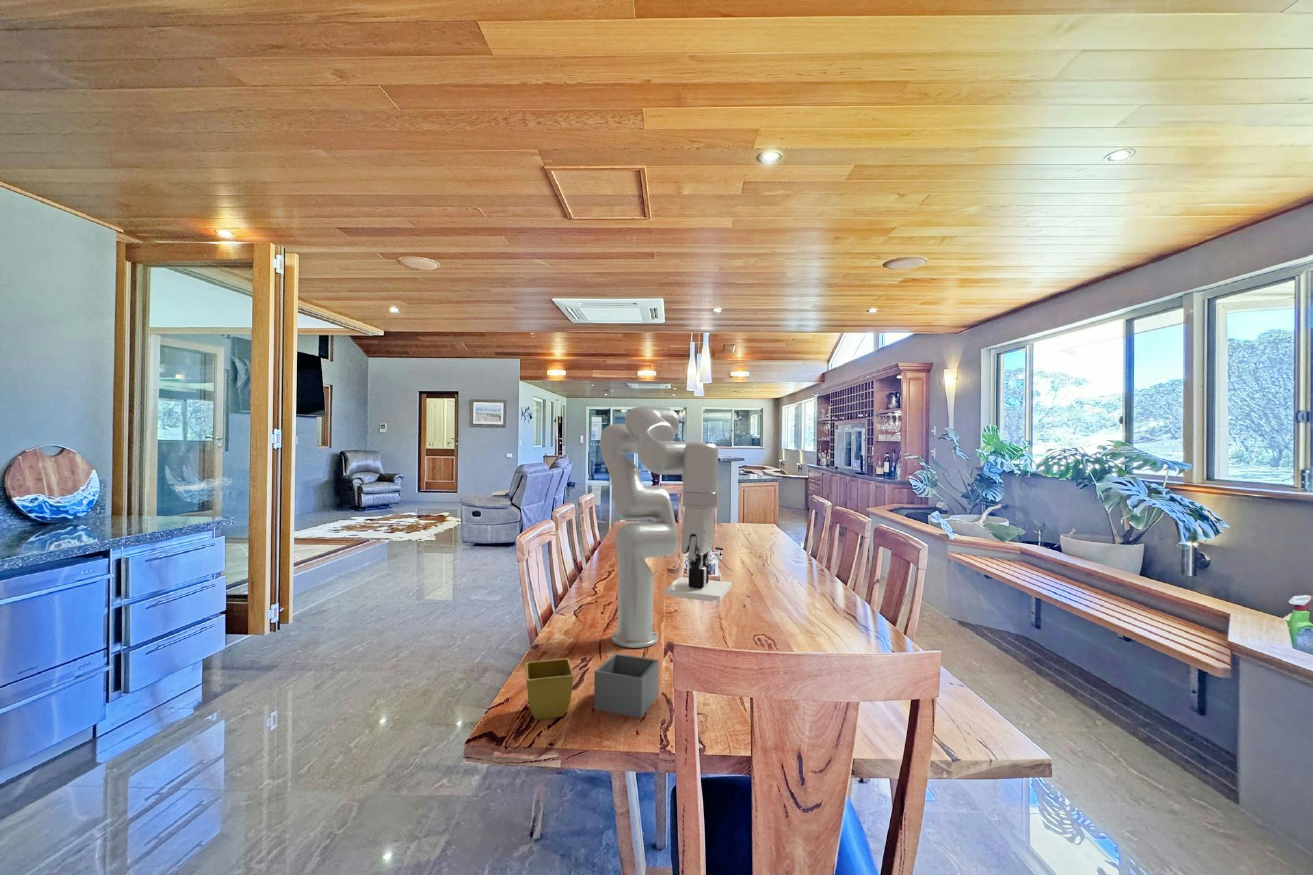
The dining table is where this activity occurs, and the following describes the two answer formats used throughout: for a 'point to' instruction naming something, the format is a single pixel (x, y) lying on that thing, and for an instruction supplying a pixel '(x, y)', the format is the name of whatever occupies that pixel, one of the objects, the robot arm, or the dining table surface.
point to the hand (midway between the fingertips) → (698, 584)
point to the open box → (626, 685)
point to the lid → (698, 589)
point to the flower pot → (549, 687)
